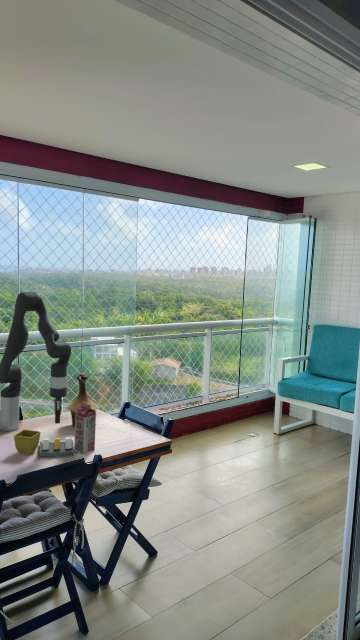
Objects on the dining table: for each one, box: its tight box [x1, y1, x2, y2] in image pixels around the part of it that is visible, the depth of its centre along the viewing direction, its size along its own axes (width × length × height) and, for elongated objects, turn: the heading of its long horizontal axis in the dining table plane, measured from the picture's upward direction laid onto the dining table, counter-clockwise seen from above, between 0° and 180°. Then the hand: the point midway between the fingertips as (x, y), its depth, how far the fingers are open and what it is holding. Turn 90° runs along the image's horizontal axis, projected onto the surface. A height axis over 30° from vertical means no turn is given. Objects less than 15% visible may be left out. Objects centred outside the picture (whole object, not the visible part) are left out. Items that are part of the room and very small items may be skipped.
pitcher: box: [66, 372, 100, 428], centre depth 262 cm, size 18×17×28 cm
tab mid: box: [53, 437, 61, 449], centre depth 221 cm, size 3×2×4 cm
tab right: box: [65, 437, 73, 449], centre depth 222 cm, size 3×2×4 cm
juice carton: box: [73, 402, 97, 454], centre depth 226 cm, size 7×7×22 cm
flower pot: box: [13, 429, 42, 456], centre depth 220 cm, size 9×9×9 cm
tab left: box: [42, 437, 50, 450], centre depth 220 cm, size 3×2×4 cm
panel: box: [39, 439, 75, 459], centre depth 225 cm, size 15×16×2 cm
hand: (57, 422), depth 224 cm, fingers closed
